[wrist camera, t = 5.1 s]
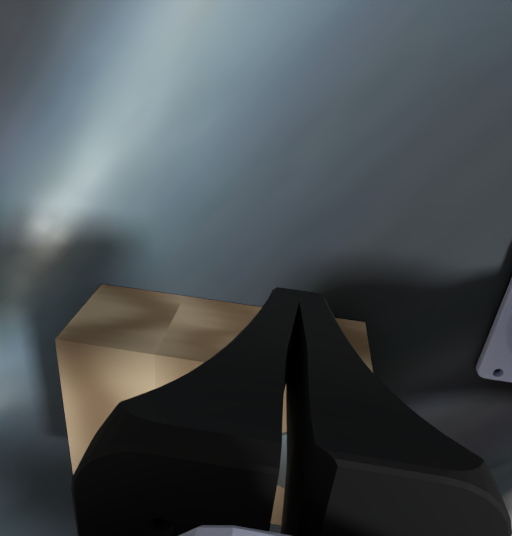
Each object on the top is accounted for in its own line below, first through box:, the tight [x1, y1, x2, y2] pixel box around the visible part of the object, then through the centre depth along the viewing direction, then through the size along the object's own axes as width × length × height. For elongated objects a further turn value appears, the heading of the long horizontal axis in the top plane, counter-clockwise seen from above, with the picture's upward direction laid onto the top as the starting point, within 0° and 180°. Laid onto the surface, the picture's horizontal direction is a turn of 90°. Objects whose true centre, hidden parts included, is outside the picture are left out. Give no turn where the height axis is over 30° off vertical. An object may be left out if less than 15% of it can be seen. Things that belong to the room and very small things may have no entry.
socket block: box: [55, 284, 373, 525], centre depth 24 cm, size 14×10×5 cm
